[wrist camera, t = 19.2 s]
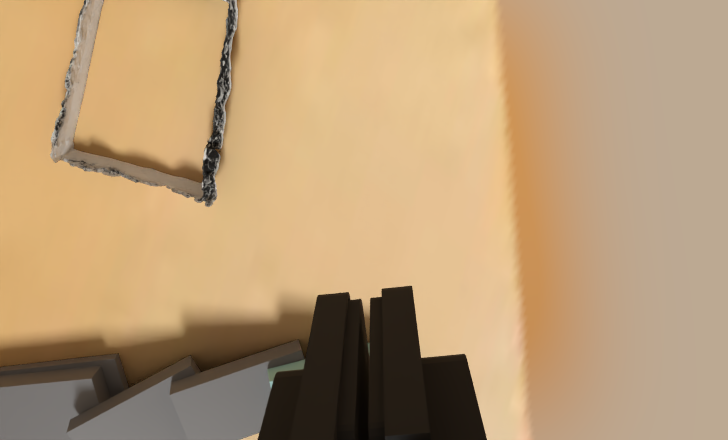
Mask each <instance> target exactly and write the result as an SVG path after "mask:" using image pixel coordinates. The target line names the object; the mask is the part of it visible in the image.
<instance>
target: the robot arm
mask: <svg viewBox="0 0 728 440" xmlns="http://www.w3.org/2000/svg"><path fill="white" fill-rule="evenodd" d="M258 440H487V438H486V434H485V430H484V426H483V422H482V418H481V414H480V410H479V406H478V402H477V398H476V394H475V390H474V386H473V382H472V378H471V374H470V370H469V366H468V362H467V358H466V355H465V354H459V355H448V356H438V357H427V358H421V354H420V346H419V338H418V330H417V322H416V314H415V306H414V298H413V290H412V286H405V287H395V288H385V289H382V297H377V298H370V352H369V350H368V342H367V335H366V328H365V320H364V313H363V306H362V300H361V299H357V300H350V295H349V292H346V293H336V294H326V295H318V297H317V301H316V306H315V311H314V317H313V322H312V327H311V332H310V337H309V343H308V348H307V353H306V358H305V364H304V369H300V370H289V371H279V372H277V373H276V374H275V377H274V380H273V384H272V388H271V391H270V395H269V399H268V403H267V406H266V410H265V414H264V418H263V422H262V425H261V429H260V433H259V437H258Z"/></svg>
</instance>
